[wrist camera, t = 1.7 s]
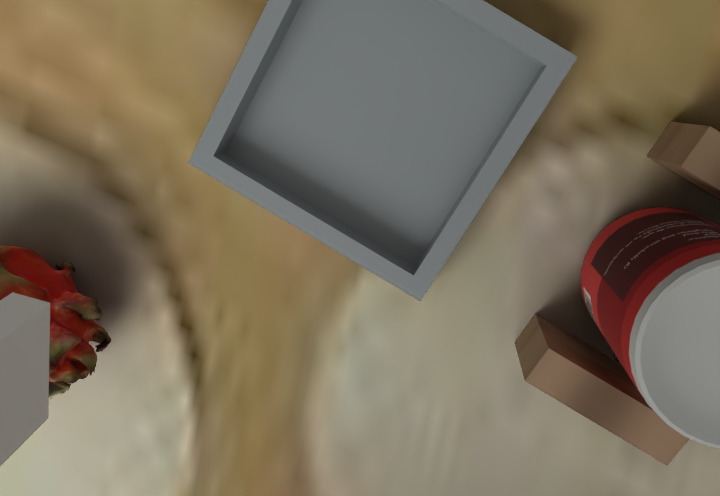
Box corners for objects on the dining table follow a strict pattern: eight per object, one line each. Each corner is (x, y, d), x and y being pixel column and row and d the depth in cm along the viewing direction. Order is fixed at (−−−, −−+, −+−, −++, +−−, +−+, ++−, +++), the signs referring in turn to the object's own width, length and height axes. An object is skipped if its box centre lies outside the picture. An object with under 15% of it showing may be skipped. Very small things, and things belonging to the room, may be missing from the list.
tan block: (807, 203, 33) (870, 222, 28) (637, 416, 36) (667, 465, 31) (671, 121, 32) (710, 126, 28) (514, 342, 36) (525, 380, 31)
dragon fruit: (150, 350, 41) (2, 260, 43) (141, 273, 34) (-34, 170, 36) (49, 464, 36) (-115, 356, 38) (14, 399, 29) (-182, 271, 31)
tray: (568, 59, 32) (577, 57, 30) (422, 287, 36) (420, 301, 34) (327, -85, 32) (317, -100, 30) (205, 158, 36) (188, 162, 34)
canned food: (684, 368, 35) (786, 486, 25) (549, 306, 35) (593, 397, 25) (763, 244, 33) (911, 314, 23) (620, 179, 33) (700, 219, 23)
